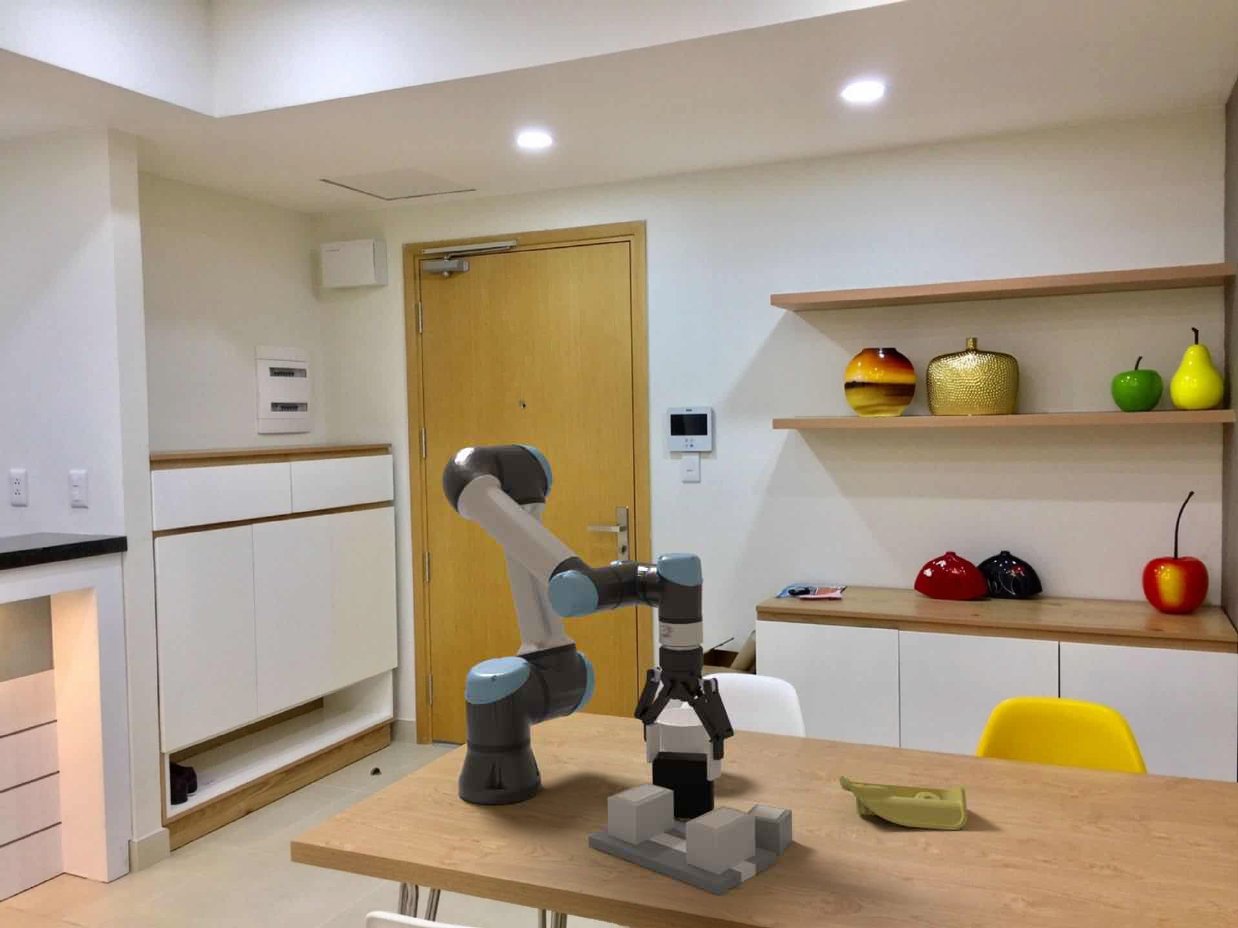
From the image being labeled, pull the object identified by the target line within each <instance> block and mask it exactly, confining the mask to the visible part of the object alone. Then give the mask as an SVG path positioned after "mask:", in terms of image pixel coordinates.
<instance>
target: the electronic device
mask: <svg viewBox="0 0 1238 928" xmlns="http://www.w3.org/2000/svg"><path fill="white" fill-rule="evenodd" d="M651 770H652V771H651V772H652V773H651V774H652V777H651V778H652V782H651V784H653V785H656V786H659V787H663V788H666V789H669V790H673V804H674V819H681V820H682V819H683V820H693V819H695V818H697V817H699V816H702V815H704V814H706V813H708V812H710V811H712V810H715V809H714V808H715V779H714V780H712V781H710V780H707V754H706V753H684V752H662V751H661V750H660V752H658V753H657V754H655V757H653V762H652V763H651Z"/></svg>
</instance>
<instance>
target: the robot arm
mask: <svg viewBox="0 0 1238 928" xmlns="http://www.w3.org/2000/svg"><path fill="white" fill-rule="evenodd" d="M553 478H554V477H553V470H552V467H551V465H550V462H549V460H548V459H547V458H546V456H545V455H544V454H543V453H542V451H540V450H538V449H537V448H536V447H534V446H531V445H521V444H516V443H514V444H509V445H508V444H504V445H503V444H502V445H481V446H480V445H474V446H467V447H464V448H462V449H460V450H459V451H456V453H454V454H453V455H452V456H451V457H450V458H449V460H448V461H447V462H446V465H445V467H444V468H443V472H442V477H441V485H442V491H443V494H444V496H445V499H446V500H447V502H448V503H449V505H450V506H451V508H453V510H454V511H455V512H456V513H458V514H459V515H460V516H461V518H463V519H465V520H468V521H474V522H476V523H477V524H478V526H480V527H481V528H482V529H483V530H484V531H486V533H488V534H489V535H490V536H491V537H492V538H493V539H494V540H495V541H496V542H497V543H498V544H499V545H500V546H502V550H503V555H504V559H505V564H506V569H507V574H508V580H509V585H510V589H511V595H512V599H513V604H514V608H515V609H514V610H515V615H516V619H517V625H518V629H519V633H520V634H519V635H520V640H521V646H520V648H519V649H518V650H517V653H516V656H502V657H501V658H497V657H495V658H491V659H488V660H485V661H482V662H480V663H477V664H476V665H474V666H472V667H471V668H470V669H469V671H468V672H467V675H466V678H465V690H464V699H465V705H466V706H465V709H466V711H465V712H466V713H465V715H466V753H465V757H464V761H463V765H462V768H461V772H460V775H459V777H458V779H457V780H458V782H457V785H458V786H457V787H458V789H457V790H458V796H459V797H460V798H462V799H463V800H465V801H468V802H471V803H476V804H482V805H504V804H512V803H517V802H522V801H524V800H527V799H531V798H533V797H534V796H535V795H537V794H538V793H540V792H541V789H542V775H541V774H542V773H541V771H540V770H539V767H538V764H537V760H536V757H535V755H534V752H533V750H532V744H531V743H532V742H531V741H532V739H531V736H532V735H531V733H532V732H531V727H532V726H535V725H538V724H542V723H545V722H548V721H551V720H555V719H559V718H564V717H568V716H571V715H572V714H573V713H574V714H575V713H577V712H580V711H582V710H583V709H584V708H585V707H586V706H587V705H588V704H589V702H590V700H591V698H592V697H593V695H594V691H595V686H596V674H595V671H594V666H593V664H592V662H591V660H590V659H588V657H587V655H586V654H585V653H584V652H582V651H579V650H578V649H577V644H576V640H574V639H573V638H571V637H569V636H568V635H567V634H566V630H565V626H564V621H563V618H575V617H576V618H582V617H586V616H589V615H595V614H598V613H603V612H608V611H613V610H619V609H624V608H629V607H633V606H643V607H650V608H651V607H652V608H657V613H658V615H657V616H658V617H657V618H658V643H659V644H660V646H659V648H658V664H659V666H655V667H652V668H649V669H647V670H646V680H645V684H644V686H643V689H642V691H641V694H640V697H639V699H638V702H637V705H636V707H635V711H634V714H633V717H634V718H635V719H636V720H640V721H641V723H642V724H643V740H644V742H645V743H646V745H645V746H646V763H647V764H652V762H653V757H655V754H657V753H658V752H661V749H660V723H658V722H655V723H654V721H657V720H658V719H657V718H658V716H659V715H660V713H661V712H662V711H663V710H665V708H666V707H667V705H668V703H670V701H671V700H673V701H676V700H677V701H680V702H683V703H687V705H688V706H689V707H690V708H693V709H694V711H695V712H696V714H697V716H698V718H699V719H700V721H701V723H702V724H703V726H704V728H705V730H706V731H707V733H708V735H709V737H710V738H711V739H710V740H707V780H710V781H712V780H714V781H715V780H716V779H718V778H721V777H722V759H724V756H725V747H724V746H725V745H724V744H725V740H726V739H729V738H732V737H734V736H735V732H734V729H733V726H732V723H731V721H730V718H729V715H728V712H727V710H726V708H725V705H724V701H723V699H722V697H721V694H720V692H719V690H720V689H719V682H718V679H717V677H712V678H703V676H702V675H703V674H702V670H703V667H704V648H703V646H702V645H701V644H703V643H704V623H703V622H704V621H703V584H704V577H703V573H702V572H703V571H702V562H701V561H702V559H701V558H700V557H699V556H698V555H696V554H694V553H687V552H686V553H685V552H683V553H682V552H681V553H680V552H670V553H669V552H668V553H663V554H659V556H658V558H657V561H656V562H657V563H651V562H643V561H634V560H633V559H626V560H613V561H612V562H611V563H609V564H608V565H605V566H600V567H599V566H598V567H593V566H592V567H591V566H590V565H589V564H588V563H587V562H585V561H584V560H583V559H582V558H581V557H579V556H578V555H577V554H576V553H575V552H574V551H573V550H571V549H570V548H569V547H568V546H567V545H566V544H565V543H563V542H562V541H561V540H560V539H559V538H557V536H556V535H554V534H553V533H552V532H551V531H549V529H548V528H546V527H545V526H544V524H543V519H542V514H543V512H544V510H545V509H546V507H547V502H546V498H548V496H549V495H550V493H551V491H552V488H551V486H552V485H553ZM660 683H662V685H663V686H662V687H661V689H660V691H659V692H658V694H657V691H658V690H659V687H660ZM656 695H657V696H656ZM655 696H656V697H655ZM656 719H657V720H656Z"/></svg>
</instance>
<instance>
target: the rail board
mask: <svg viewBox="0 0 1238 928" xmlns="http://www.w3.org/2000/svg"><path fill="white" fill-rule="evenodd" d="M607 826H608V827H607V828H604V829H602V830H599V831H597V832H595V833H593V834H590V835H589V836H588V837H587V838H588V840H587V843H588V847H590V848H593V849H597V850H599V851H601V852H604V853H607V854H610V855H611V856H615V857H618V858H620V859H623V860H626V861H628V862H631V863H633V864H636V865H639V866H641V867H643V868H646V869H649V870H652V871H654V872H657V873H659V874H663V875H664V876H668V877H671V878H673V879H676V880H678V881H681V882H684V883H686V884H689V885H691V886H693V887H697V888H698V889H699V888H700V889H701V890H705V891H707V892H709V893H712V894H715V895H717V896H718V895H719V896H720V895H722V894H724V893H726V892H727V891H729V890H731V889H732V888H735V887H736V886H738V885H739V884H741V883H743V882H745V881H747V880H748V879H750V878H751V877H754V876H755V875H757V874H759V873H761V872H762V871H763V872H764V870H767V869H768V868H769V867H771V866H774V865H776V864H777V854H776V853H774V852H771V851H768V850H765V849H762V848H759V847H756V846H755V815H752V814H749V813H747V811H746V812H745V811H742V810H739V809H735V808H732V807H729V806H725V805H721V806H719V807H717V808H715V809H713V810H712V811H710V812H708V813H706V814H704V815H702V816H699V817H697V818H695V819H690V820H689V821H687V822H682V821H679V820H677V819H675V818H674V804H673V790H669V789H666V788H663V787H659V786H656V785H653V784H652V783H649V782H642V783H640V784H638V785H636V786H632V787H630V788H628V789H625V790H623V791H621V792H618V793H615V794H613V795H611V796H608V797H607Z"/></svg>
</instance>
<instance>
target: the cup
mask: <svg viewBox="0 0 1238 928" xmlns="http://www.w3.org/2000/svg"><path fill="white" fill-rule="evenodd" d="M657 719H658V720H657ZM657 719H656V720H657V721H654V723H655V722H658V723H660V752H661V751H662V752H684V753H706V754H707V740H710V739H711V738H710V737H709V735H708V733H707V731H706V730H705V728H704V726H703V724H702V723H701V721H700V719H699V718H698V716H697V714H696V712H695V711H694V709H693V707H674V708H667V709H663V711H662V712H661V713H660V715H659V716H658V718H657Z"/></svg>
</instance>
